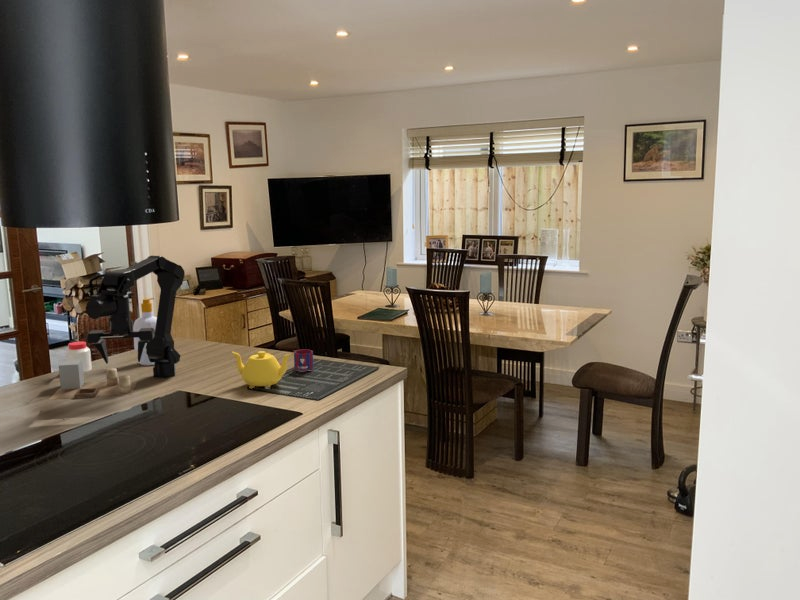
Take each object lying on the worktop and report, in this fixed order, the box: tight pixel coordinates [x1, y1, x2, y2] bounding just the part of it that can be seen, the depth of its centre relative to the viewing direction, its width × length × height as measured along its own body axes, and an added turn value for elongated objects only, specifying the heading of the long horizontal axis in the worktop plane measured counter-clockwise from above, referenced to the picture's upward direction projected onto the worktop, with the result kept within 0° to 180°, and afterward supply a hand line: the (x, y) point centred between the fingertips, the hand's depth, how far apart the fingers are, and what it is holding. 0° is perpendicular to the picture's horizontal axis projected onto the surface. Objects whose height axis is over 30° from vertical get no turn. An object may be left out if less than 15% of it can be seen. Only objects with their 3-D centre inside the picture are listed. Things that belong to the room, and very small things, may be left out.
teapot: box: [231, 350, 292, 388], centre depth 211 cm, size 20×15×12 cm
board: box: [48, 379, 140, 401], centre depth 201 cm, size 23×16×3 cm
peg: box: [105, 367, 119, 386], centre depth 206 cm, size 3×3×5 cm
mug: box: [293, 348, 314, 371], centre depth 230 cm, size 7×10×7 cm
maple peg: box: [118, 374, 131, 394], centre depth 198 cm, size 3×3×5 cm
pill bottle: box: [64, 341, 93, 373], centre depth 222 cm, size 8×8×11 cm
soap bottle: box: [132, 297, 157, 367], centre depth 235 cm, size 10×10×24 cm
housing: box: [58, 360, 85, 389], centre depth 203 cm, size 6×6×8 cm
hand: (123, 362), depth 197 cm, fingers open, 9 cm apart
